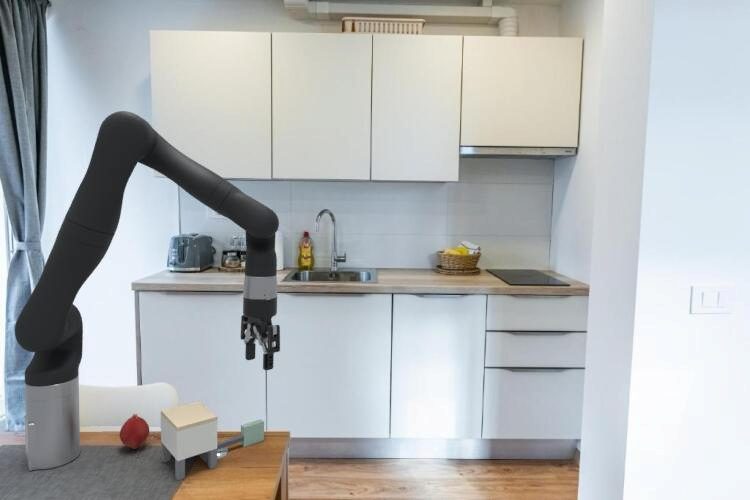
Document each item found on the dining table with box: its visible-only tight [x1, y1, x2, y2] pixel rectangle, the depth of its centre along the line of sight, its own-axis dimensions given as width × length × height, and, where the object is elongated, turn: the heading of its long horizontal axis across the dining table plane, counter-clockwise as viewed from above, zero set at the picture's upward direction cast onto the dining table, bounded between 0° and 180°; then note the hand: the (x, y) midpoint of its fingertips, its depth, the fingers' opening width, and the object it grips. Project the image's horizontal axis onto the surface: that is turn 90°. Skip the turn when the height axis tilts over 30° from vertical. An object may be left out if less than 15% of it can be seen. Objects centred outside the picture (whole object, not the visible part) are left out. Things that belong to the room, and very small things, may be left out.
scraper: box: [197, 419, 265, 465], centre depth 104 cm, size 14×5×4 cm, turn 132°
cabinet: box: [160, 400, 218, 482], centre depth 97 cm, size 8×10×11 cm
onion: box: [119, 413, 150, 450], centre depth 103 cm, size 6×6×8 cm
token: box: [217, 447, 229, 460], centre depth 102 cm, size 4×4×1 cm
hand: (259, 364), depth 107 cm, fingers open, 8 cm apart
